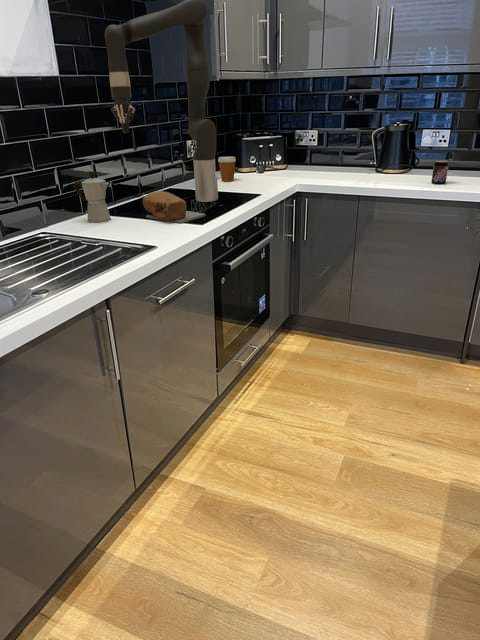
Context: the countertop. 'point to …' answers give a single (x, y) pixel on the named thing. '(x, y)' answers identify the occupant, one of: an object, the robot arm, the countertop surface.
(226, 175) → the disposable coffee cup
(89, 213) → the coffee maker
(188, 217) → the mat
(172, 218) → the block
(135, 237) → the countertop surface
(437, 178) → the supplement container
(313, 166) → the countertop surface
